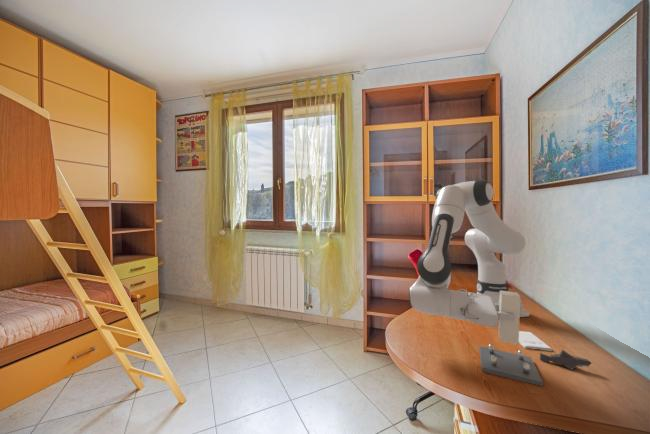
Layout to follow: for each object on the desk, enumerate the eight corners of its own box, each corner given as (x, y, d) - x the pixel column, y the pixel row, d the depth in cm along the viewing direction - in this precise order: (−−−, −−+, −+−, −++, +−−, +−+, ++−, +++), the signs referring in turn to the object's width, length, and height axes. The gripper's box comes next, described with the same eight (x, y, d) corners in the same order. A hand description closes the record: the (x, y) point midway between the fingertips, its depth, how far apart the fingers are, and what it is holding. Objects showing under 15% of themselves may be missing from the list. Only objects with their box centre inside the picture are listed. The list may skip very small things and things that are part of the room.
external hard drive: (531, 336, 102) (552, 352, 90) (507, 334, 104) (524, 349, 92) (531, 332, 102) (552, 348, 90) (507, 329, 104) (525, 345, 92)
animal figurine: (541, 367, 83) (538, 350, 83) (539, 361, 86) (536, 344, 87) (595, 374, 76) (591, 355, 77) (590, 366, 80) (587, 349, 80)
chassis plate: (479, 349, 90) (479, 338, 90) (530, 360, 84) (531, 349, 84) (482, 371, 78) (482, 358, 78) (542, 386, 71) (543, 372, 71)
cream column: (498, 334, 84) (499, 290, 83) (515, 338, 81) (517, 292, 81) (500, 340, 80) (501, 294, 79) (518, 344, 77) (520, 296, 77)
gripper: (461, 305, 77) (519, 314, 71) (461, 288, 95) (507, 294, 89) (460, 327, 77) (518, 338, 71) (460, 305, 95) (506, 313, 89)
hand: (512, 313), depth 80 cm, fingers closed on cream column, 4 cm apart
